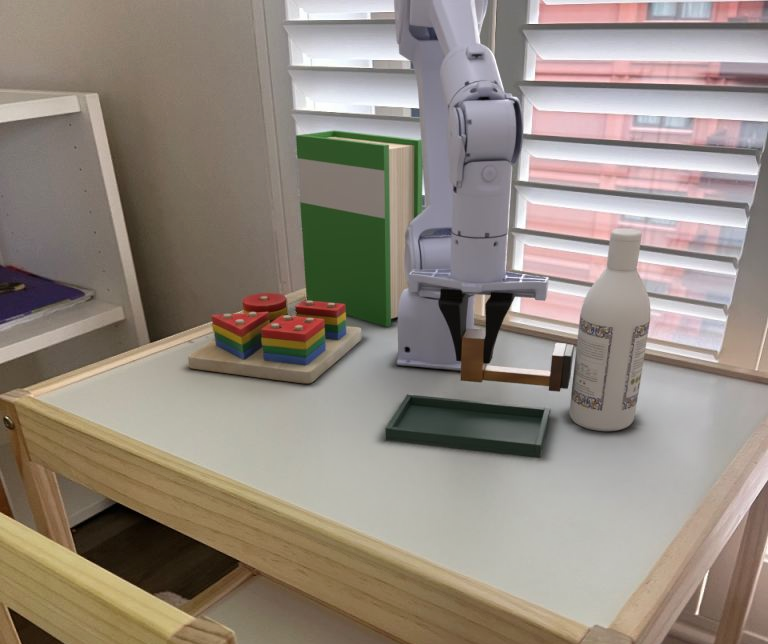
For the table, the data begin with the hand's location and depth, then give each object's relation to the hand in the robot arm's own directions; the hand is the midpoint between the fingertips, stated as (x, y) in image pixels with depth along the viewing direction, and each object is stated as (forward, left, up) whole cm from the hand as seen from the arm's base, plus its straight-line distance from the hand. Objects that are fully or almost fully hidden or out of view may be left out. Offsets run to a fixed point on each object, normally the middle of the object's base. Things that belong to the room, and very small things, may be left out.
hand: (474, 359), depth 89 cm
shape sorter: (-28, +11, -6) cm, 31 cm away
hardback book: (-23, +32, -6) cm, 40 cm away
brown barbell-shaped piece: (+5, 0, -2) cm, 5 cm away
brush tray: (+1, -6, -6) cm, 8 cm away
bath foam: (+14, 0, -6) cm, 15 cm away
